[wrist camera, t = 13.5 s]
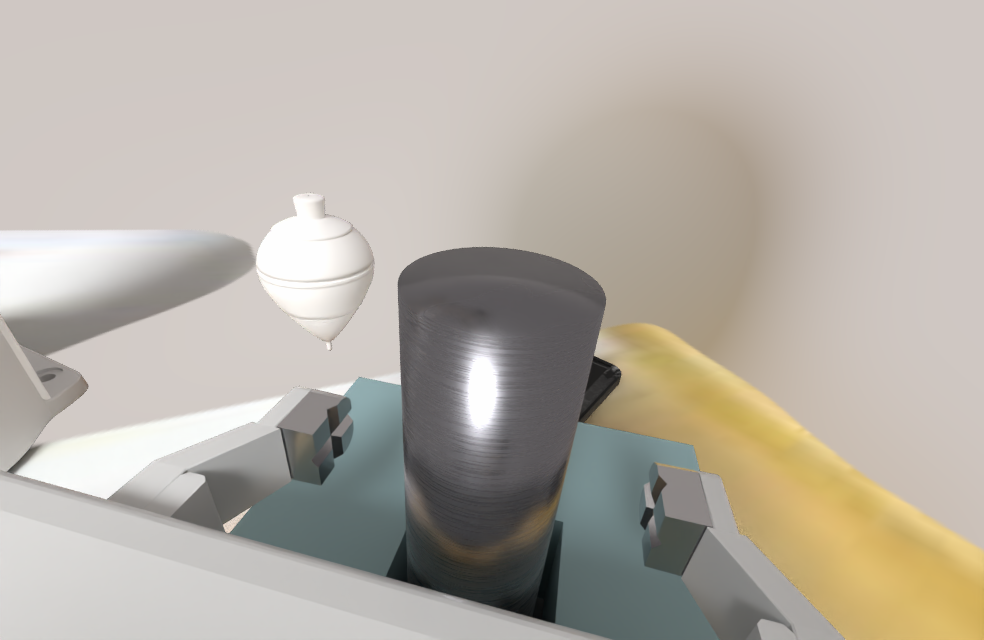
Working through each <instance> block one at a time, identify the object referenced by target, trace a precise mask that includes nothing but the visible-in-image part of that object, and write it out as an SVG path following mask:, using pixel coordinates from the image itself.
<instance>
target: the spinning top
mask: <svg viewBox="0 0 984 640" xmlns="http://www.w3.org/2000/svg"><path fill="white" fill-rule="evenodd" d="M293 201H294V206H295V209H296V213H297V215H296V216H292V217H289V218H286V219H284V220H282V221H280V222H278V223H276V224H275V225H273V226H272V227H271V230H270V232H269V233H268V234H267V235H266V237H265V238H264V239H263V241H262V243H261V245H260V247H259V249H258V252H257V256H256V270H257V274H258V276H259V279H260V282H261V284H262V286H263V288H264V289H265V291H266V292H267V293H268V294H269V296H270V297H271V298H272V299H273V300H274V301H275V303H276V304H278V306H279V307H280V308H281V309H282V310H283V311H284V312H285V313H286V314H287V315H288V316H290V317H291V318H292V319H293V320H294V321H296V322H297V323H298V324H299V325H300V326H302V327H303V328H304V329H306V330H307V331H308V332H310V333H312V334H313V335H314V336H316V337H317V338H319V339H321V340H322V341H326V346H327V350H329V351H331V349H332V345H331V341H332V340H333V339H334V338H335V337H336V336H337V335H338V334H339V333H340V332H341V331H342V330H343V328H344V327H345V326H346V325H347V323H348V322H349V321H350V319H351V318H352V316H353V315H354V313H355V312H356V310H357V309H358V307H359V306H360V305H361V303H362V301H363V299H364V297H365V295H366V293H367V291H368V289H369V286H370V284H371V281H372V278H373V274H374V257H373V253H372V250H371V248H370V246H369V244H368V243H367V241H366V240H365V238H364V237H363V236H362V235H361V234H360V233H359V232H358V231H357V230H356V229H355V228H354V227H353V225H352V224H351V223H350V222H348V221H346V220H344V219H341V218H338V217H335V216H331V215H326V214H325V198H324V197H323V196H322V195H320V194H315V193H303V194H298V195H296V196H294V197H293Z"/></svg>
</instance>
